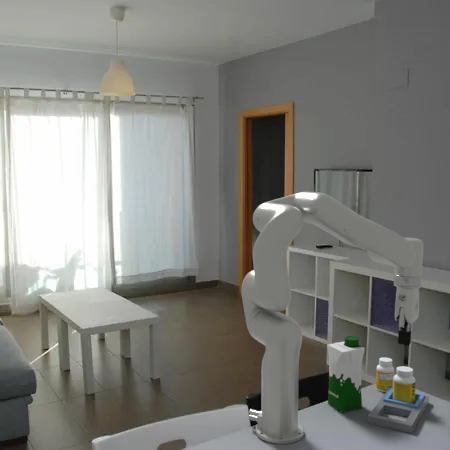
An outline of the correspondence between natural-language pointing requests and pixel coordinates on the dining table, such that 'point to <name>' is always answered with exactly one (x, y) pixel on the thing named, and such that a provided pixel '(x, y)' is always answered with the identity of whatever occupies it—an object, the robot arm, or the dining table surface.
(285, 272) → the robot arm
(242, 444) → the dining table surface
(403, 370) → the pill bottle
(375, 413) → the organizer board
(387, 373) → the supplement bottle
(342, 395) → the milk carton
